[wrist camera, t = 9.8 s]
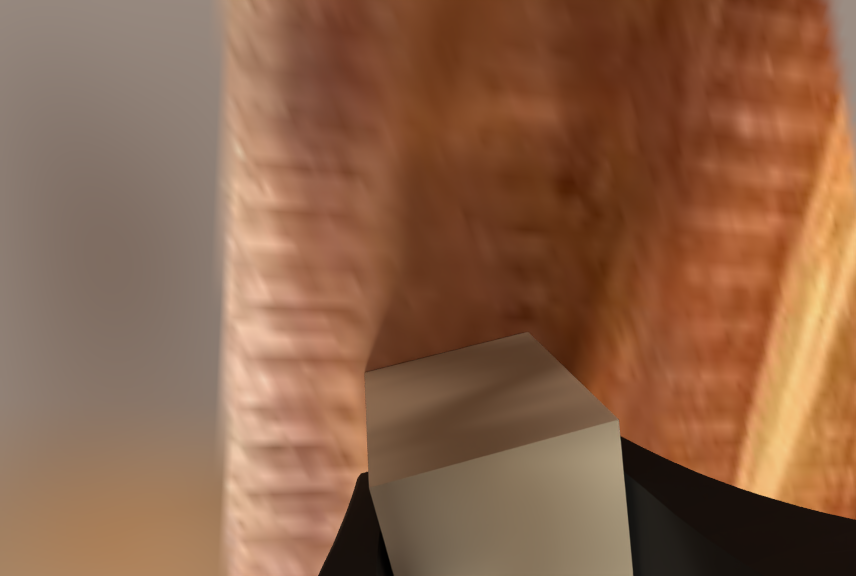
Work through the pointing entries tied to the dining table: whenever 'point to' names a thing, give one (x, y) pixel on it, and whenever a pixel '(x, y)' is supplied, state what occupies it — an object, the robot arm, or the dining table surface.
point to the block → (495, 466)
